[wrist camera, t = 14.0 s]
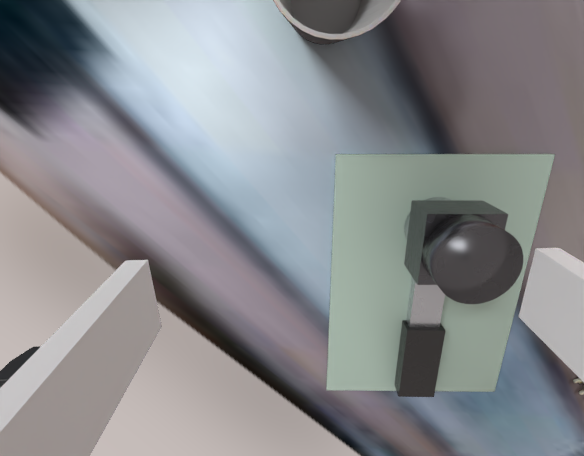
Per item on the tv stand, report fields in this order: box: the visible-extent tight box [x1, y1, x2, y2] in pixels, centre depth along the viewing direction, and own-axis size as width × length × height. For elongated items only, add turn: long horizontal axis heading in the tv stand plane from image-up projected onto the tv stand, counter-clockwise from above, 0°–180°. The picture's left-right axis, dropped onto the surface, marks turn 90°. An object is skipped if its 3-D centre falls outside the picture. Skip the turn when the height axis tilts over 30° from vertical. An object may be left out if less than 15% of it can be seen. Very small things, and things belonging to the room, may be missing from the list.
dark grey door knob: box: [404, 200, 523, 304], centre depth 29 cm, size 6×6×7 cm
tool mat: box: [327, 154, 555, 392], centre depth 37 cm, size 28×20×1 cm
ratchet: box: [394, 197, 451, 397], centre depth 35 cm, size 23×6×5 cm, turn 0°
